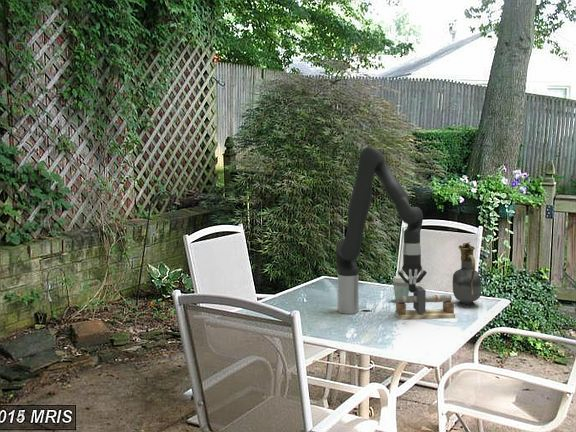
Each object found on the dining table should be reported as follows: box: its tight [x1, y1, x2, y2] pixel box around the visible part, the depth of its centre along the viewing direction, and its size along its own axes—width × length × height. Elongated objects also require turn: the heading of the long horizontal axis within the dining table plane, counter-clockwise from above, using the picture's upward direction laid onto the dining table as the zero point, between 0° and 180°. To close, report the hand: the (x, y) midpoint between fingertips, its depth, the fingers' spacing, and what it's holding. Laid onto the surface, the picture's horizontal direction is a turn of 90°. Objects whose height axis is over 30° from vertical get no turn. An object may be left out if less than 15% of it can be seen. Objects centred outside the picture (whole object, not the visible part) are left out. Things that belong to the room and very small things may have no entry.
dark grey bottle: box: [452, 241, 482, 307], centre depth 284 cm, size 11×19×30 cm, turn 0°
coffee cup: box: [392, 275, 410, 303], centre depth 295 cm, size 8×8×12 cm
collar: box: [412, 285, 427, 313], centre depth 268 cm, size 3×9×10 cm, turn 2°
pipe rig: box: [394, 294, 456, 321], centre depth 269 cm, size 24×10×9 cm, turn 92°
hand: (412, 292), depth 268 cm, fingers closed
